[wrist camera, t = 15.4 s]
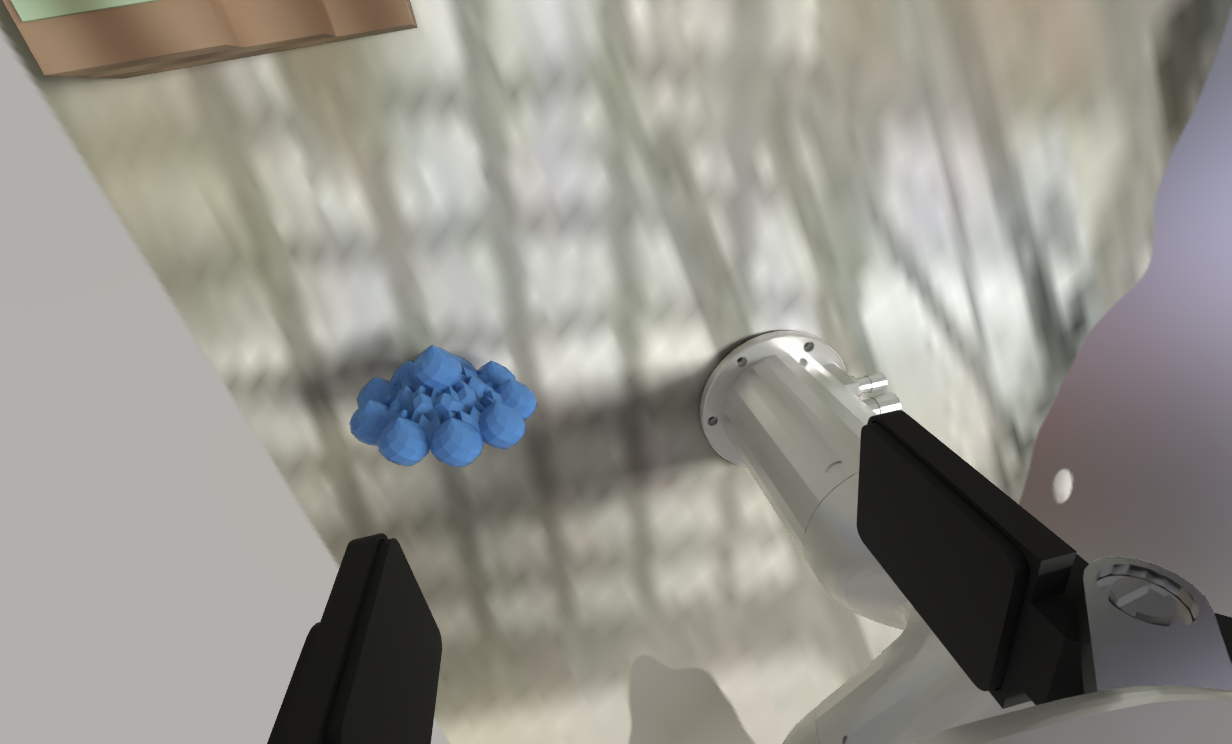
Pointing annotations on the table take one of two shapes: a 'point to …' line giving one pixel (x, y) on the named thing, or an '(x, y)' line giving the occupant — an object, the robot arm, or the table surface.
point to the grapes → (442, 410)
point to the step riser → (188, 30)
